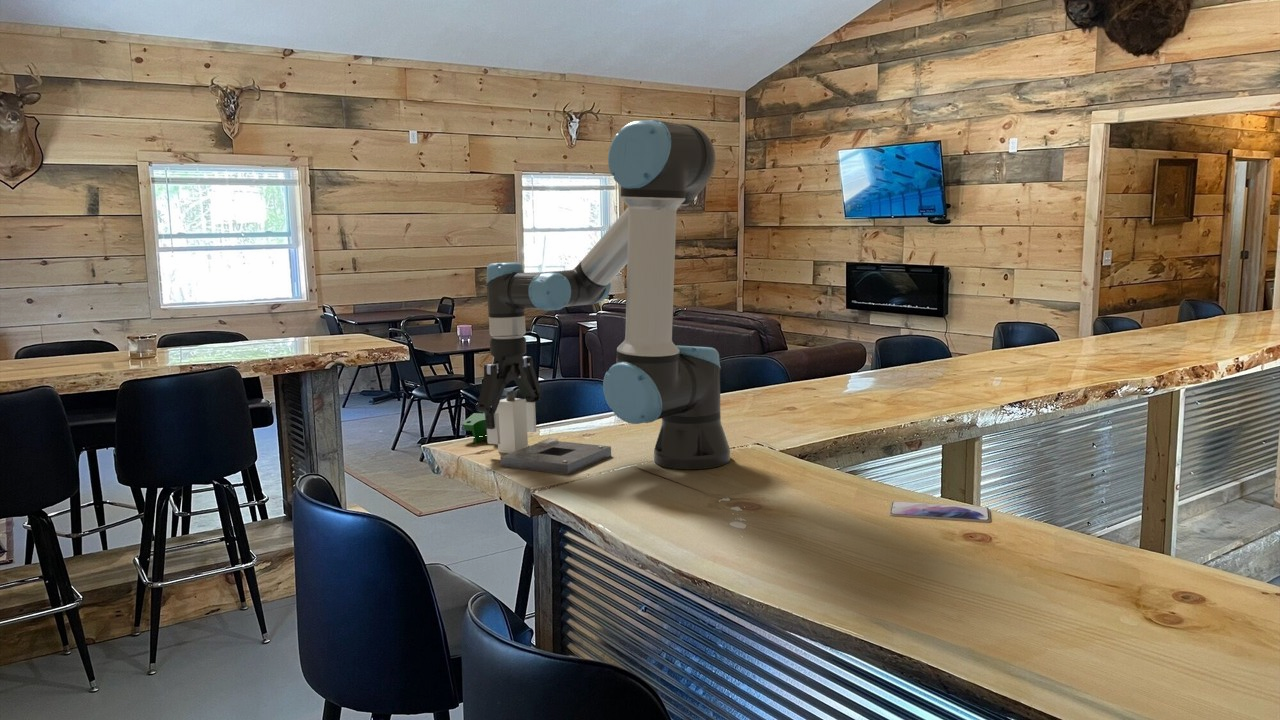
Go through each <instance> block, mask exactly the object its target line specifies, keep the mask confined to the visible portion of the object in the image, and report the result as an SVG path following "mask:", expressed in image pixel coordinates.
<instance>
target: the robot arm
mask: <svg viewBox="0 0 1280 720" xmlns="http://www.w3.org/2000/svg"><path fill="white" fill-rule="evenodd" d="M607 163H608V164H607V165H608V170H609V173H610V175H611V176H613V180H614V181H615V183H617V184H618V185H620V200H622V201H623V203H624V204H625V205H626V206H627V207H626V209H625V210H624V211H623V212H622V213H621V215H619V217H618V218H617V219H616V220H615V222H614V223H613V224H612V225H611V226H610V228H608V230H607V231H606V232H605V233H604V234H603V236H602V237H601V238H600V239H599V240H598V241H597V243H596V244H595V245H593V247H592V248H591V249H590V251H589V252H587V254H586V255H585V256H584V258H583V259H581V260H580V262H579V263H578V264H577V265H576V266H575V267H574V268H573V269H567V270H557V271H556V270H554V271H542V272H541V271H539V272H537V271H535V272H534V271H533V272H524V270H523V264H522V263H520V262H493V263H489V264H488V265H487V267H486V282H485V285H486V294H487V310H488V311H487V312H488V325H489V327H488V329H489V336H491V338H490V340H489V353H490V355H491V356H492V357H493V358H494V362H493V363H492V364H491V363H485V364H484V365H483V379H482V382H481V389H480V393H479V397H478V403H477V407H476V409H477V410H476V411H478V412H479V413H481V414H485V423H486V429H487V440H486V441H487V444H489V445H494V444H497V445H496V446H498V444H500V429H499V413H496V410H497V407H498V404H499V402H500V400H502V395H503V393H504V391H505V388H506V387H507V385H509V383H510V382H512V381H514V383H515V384H516V386H517V388H518V389H519V391H520V393H521V394H522V396H523V399H526V416H527V433H528V432H530V433H535V432H537V418H536V414H537V404H536V403H537V402H538V403H539V402H541V401H540V400H541V397H542V395H543V393H542V390H541V387H540V383H539V379H538V378H537V374H536V370H535V368H534V361H533V356H527V355H526V354H527V339H526V337H525V336H524V335H526V333H527V331H526V330H527V329H526V315H525V314H526V313H525V312H526V311H525V310H537V311H544V312H549V311H559V310H562V309H563V308H566V307H567V308H568V307H575V306H590V305H594V304H598V303H601V302H603V301H606V299H607V298H608V296H609V295H610V290H611V289H612V288H611V286H612V285H611V284H612V283H611V282H612V281H613V280H614V278H616V276H617V275H618V274H619V273H620V272H621V271H623V269H624V268H625V267H626V269H627V270H626V292H625V293H626V299H625V300H626V301H625V303H626V304H625V331H624V333H625V334H624V335H625V336H624V340H623V341H622V342H621V343H620V344H619V345H618V346H617V348H616V359H615V361H616V363H614V364H612V365H611V366H610V367H609V369H608V370H607V371H606V372H605V374H604V377H603V381H602V382H603V383H602V388H603V389H602V390H603V395H604V399H605V401H606V404H607V406H608V407H609V409H611V410H612V412H613V414H614V415H615V416H616V417H617V418H618V419H619V420H621V421H623V422H625V423H627V424H630V425H631V424H632V425H640V424H648V423H649V424H650V423H653V422H655V421H657V420H660V419H661V425H660V429H659V432H658V437H657V439H656V442H655V445H654V446H655V447H654V448H653V449H654V451H653V459H654V460H653V461H654V463H655V464H657V465H658V466H661V467H664V468H668V469H669V468H670V469H677V470H704V469H705V470H706V469H713V468H718V467H721V466H724V465H726V464H728V463H730V461H731V450H730V445H729V442H728V440H727V436H726V434H725V430H724V428H723V424H722V421H721V415H722V414H721V369H722V368H721V364H720V353H719V351H718V350H717V349H716V348H714V347H709V346H694V345H692V346H690V345H676V344H675V343H674V342H673V322H674V321H673V319H674V318H673V317H674V315H673V313H674V292H675V291H674V288H675V287H674V286H675V264H676V263H675V262H676V261H675V260H676V258H675V257H676V236H677V235H676V232H677V231H676V230H677V211H678V209H679V208H681V206H685V207H686V206H689V205H691V203H692V202H693V201H694V200H695V199H696V197H698V196H699V194H700V193H701V192H702V191H703V190H704V188H705V187H706V186H707V184H708V183H709V181H710V179H711V178H712V175H713V173H714V170H715V167H716V152H715V147H714V144H713V142H712V139H710V137H709V136H708V135H707V134H706V133H705V132H704V131H703V130H702V129H700V128H698V127H697V126H694V125H690V124H686V123H674V122H668V121H663V120H662V121H661V120H658V119H657V120H656V119H655V120H654V119H649V120H648V119H646V120H645V119H644V120H643V119H642V120H634V121H631V122H629V123H627V124H626V125H624V126H622V127H621V129H620V130H619V132H618V133H616V134H615V136H614V138H613V139H612V141H611V144H610V147H609V150H608V156H607ZM524 355H525V356H524Z"/></svg>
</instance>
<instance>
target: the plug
mask: <svg viewBox="0 0 1280 720" xmlns="http://www.w3.org/2000/svg"><path fill="white" fill-rule="evenodd" d="M505 394H506V395H505V396H506V397H505V398H501V399H500V402H499V404H498V407H497V410H496V412H495V413H499V429H500V444H498V445H497V452H498V453H503V454H509V453H512V452H515V451H518V450H520V449H523V448H526V447H529V441H528V440H529V439H528V437H529V436H528V432H527V416H526V402H527V401H526V399H525V398H519V397H518V398H517V397H516V393H515V389H507V390H505Z"/></svg>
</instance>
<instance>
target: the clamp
mask: <svg viewBox="0 0 1280 720" xmlns="http://www.w3.org/2000/svg"><path fill="white" fill-rule="evenodd" d="M462 428H463V430H464V431H467V432H469V431H470V432H471V433H472V437H475V438H473V442H474V443H473V444H478V443H479V442H482V441H484V440H486V441H487V436H485V435H487V429H486V423H485V413H481V412H479V413H477V412H476V413H475V412H474V413H472V414H470V416H469V417H467V418H466V419H465V420H464V421H462ZM479 436H483V437H479ZM493 445H494V446H498V445H497V444H493Z"/></svg>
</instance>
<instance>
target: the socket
mask: <svg viewBox="0 0 1280 720" xmlns="http://www.w3.org/2000/svg"><path fill="white" fill-rule="evenodd" d="M610 457H612V446H609V445H600V444H591V443H590V444H588V443H579V442H572V441H569V442H568V441H560V440H559V438H550V437H548V438H546V439H544V440H540V441H538V442H537V443H534V444H532V445H528V447H526V448H523V449H520V450H518V451H515V452H512V453H506V454H503V455H502V456H500V467H501V466H503V467H502V468H509V467H510V468H511V469H517V468H519V470H525V469H526V470H527V471H533V470H535V471H534V472H541V471H542V473H543V472H544V473H549V474H559V475H567V476H569V475H570V474H573V473H575V472H578V471H580V470H582V469H585V468H587V467H588V466H592V465H594V464H595V463H599V462H601V461H604V460H605V459H607V458H608V459H609V458H610ZM510 468H509V469H510Z"/></svg>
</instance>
